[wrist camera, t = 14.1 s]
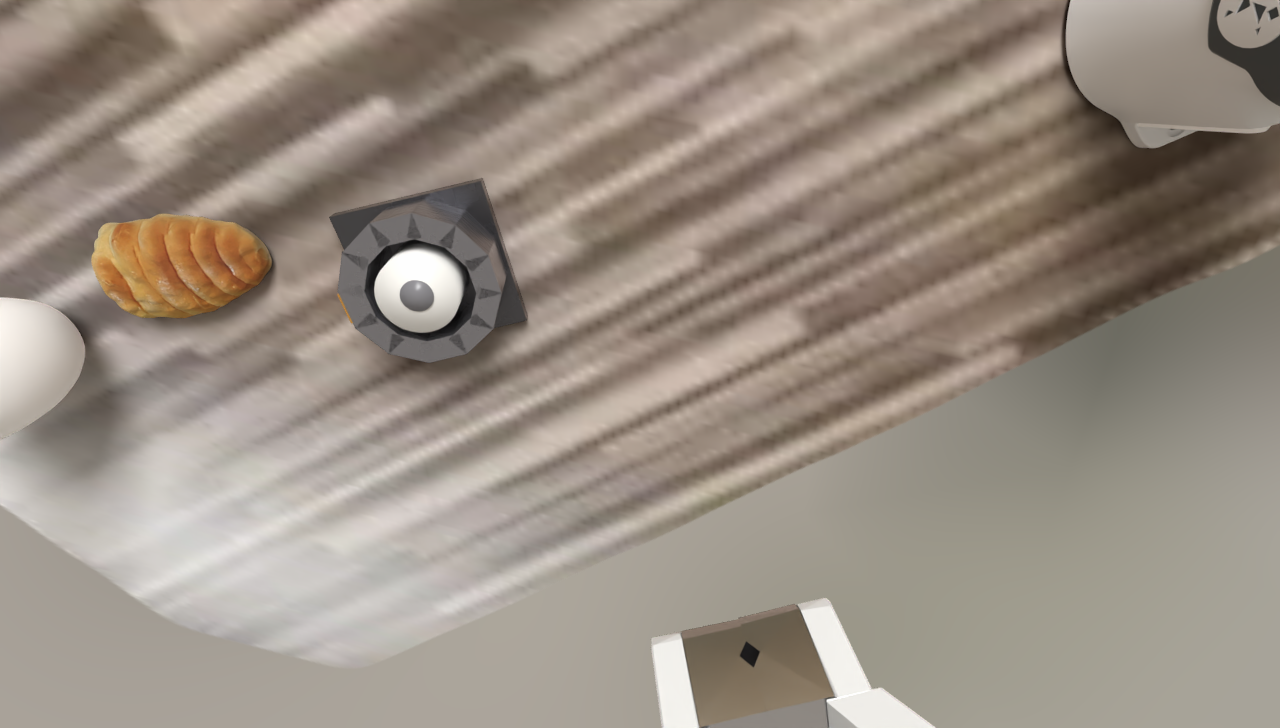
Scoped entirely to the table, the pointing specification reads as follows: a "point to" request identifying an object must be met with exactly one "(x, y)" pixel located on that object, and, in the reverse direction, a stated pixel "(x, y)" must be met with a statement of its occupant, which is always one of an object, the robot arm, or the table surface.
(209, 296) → the pastry
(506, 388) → the table surface
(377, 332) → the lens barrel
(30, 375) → the white air blower bulb
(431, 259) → the cylinder with grey knob
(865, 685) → the robot arm
